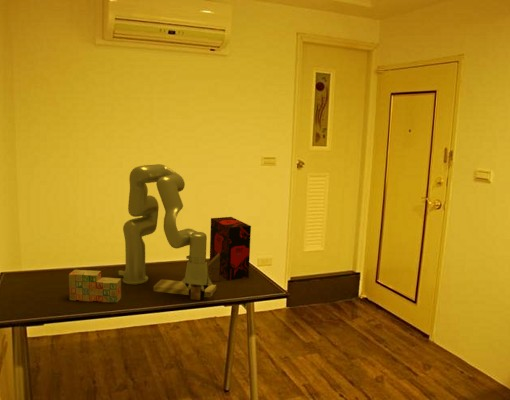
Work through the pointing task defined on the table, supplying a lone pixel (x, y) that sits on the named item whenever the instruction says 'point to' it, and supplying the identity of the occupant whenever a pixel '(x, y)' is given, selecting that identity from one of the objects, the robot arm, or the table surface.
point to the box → (231, 246)
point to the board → (179, 288)
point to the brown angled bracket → (214, 268)
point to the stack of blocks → (93, 287)
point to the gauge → (195, 292)
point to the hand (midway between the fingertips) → (196, 296)
